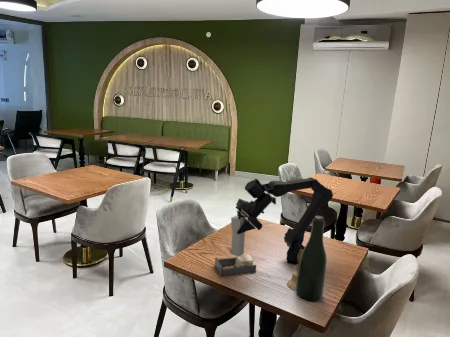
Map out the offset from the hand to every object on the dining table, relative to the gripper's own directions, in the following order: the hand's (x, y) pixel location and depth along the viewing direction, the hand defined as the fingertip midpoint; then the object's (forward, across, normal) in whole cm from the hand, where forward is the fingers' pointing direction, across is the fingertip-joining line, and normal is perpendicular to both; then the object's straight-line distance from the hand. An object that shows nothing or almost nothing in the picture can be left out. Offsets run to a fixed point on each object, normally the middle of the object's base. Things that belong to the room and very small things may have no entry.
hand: (234, 230), depth 144 cm
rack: (+12, 0, +14) cm, 18 cm away
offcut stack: (+9, 0, +17) cm, 19 cm away
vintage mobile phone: (+7, 0, +9) cm, 11 cm away
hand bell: (-2, +18, +28) cm, 34 cm away
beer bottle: (-3, +26, +29) cm, 39 cm away
